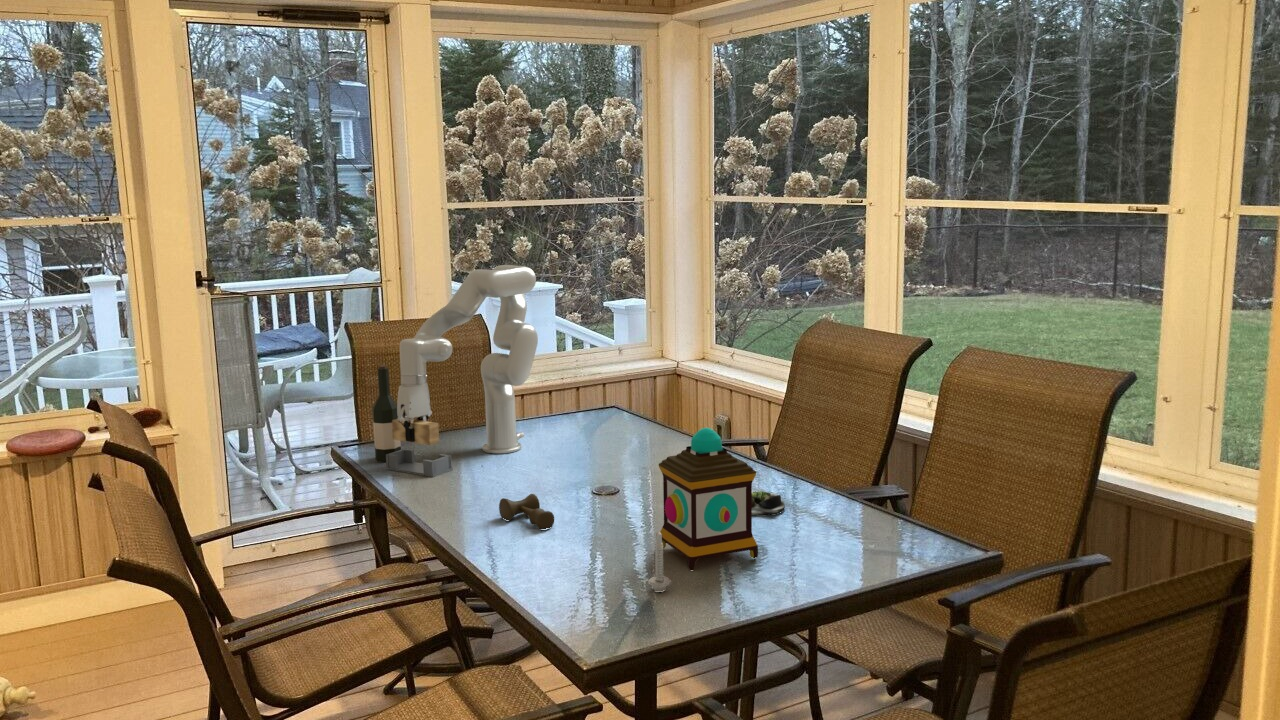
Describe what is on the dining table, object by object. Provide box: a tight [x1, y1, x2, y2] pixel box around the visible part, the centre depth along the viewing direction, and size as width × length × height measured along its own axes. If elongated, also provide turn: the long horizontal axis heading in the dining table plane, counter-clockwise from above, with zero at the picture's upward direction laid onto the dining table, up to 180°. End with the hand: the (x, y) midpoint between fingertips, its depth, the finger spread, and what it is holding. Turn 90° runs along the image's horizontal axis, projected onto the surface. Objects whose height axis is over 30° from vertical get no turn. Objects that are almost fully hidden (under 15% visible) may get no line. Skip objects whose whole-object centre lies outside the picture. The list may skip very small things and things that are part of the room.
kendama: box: [498, 493, 555, 530], centre depth 265 cm, size 6×10×20 cm
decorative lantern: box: [658, 427, 759, 571], centre depth 237 cm, size 20×20×30 cm
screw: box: [647, 531, 672, 592], centre depth 217 cm, size 13×5×5 cm
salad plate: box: [752, 490, 786, 516], centre depth 272 cm, size 19×18×5 cm
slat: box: [392, 419, 440, 446], centre depth 313 cm, size 15×4×6 cm, turn 59°
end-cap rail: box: [385, 447, 453, 478], centre depth 315 cm, size 19×8×5 cm, turn 59°
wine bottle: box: [371, 364, 402, 463], centre depth 326 cm, size 8×8×30 cm
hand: (415, 439), depth 313 cm, fingers closed on slat, 4 cm apart
